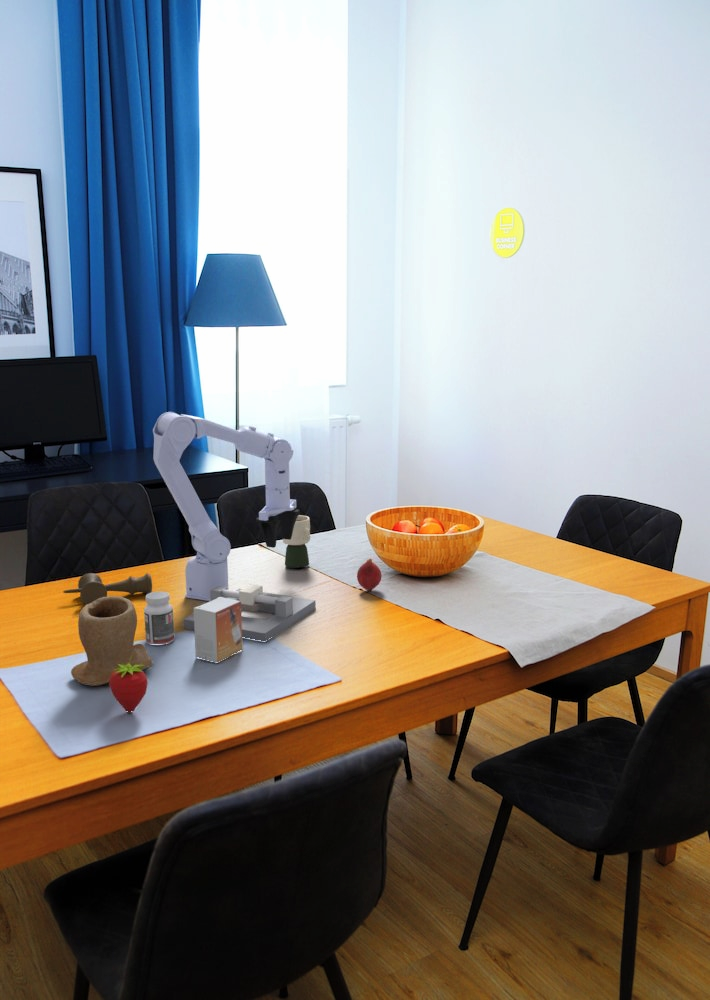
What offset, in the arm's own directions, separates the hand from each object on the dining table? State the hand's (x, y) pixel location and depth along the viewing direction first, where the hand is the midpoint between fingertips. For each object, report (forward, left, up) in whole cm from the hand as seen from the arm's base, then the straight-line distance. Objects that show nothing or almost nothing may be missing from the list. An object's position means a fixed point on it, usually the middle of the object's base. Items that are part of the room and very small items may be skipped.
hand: (279, 542), depth 215 cm
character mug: (-3, +14, -11) cm, 18 cm away
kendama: (-31, -25, -11) cm, 42 cm away
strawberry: (+11, -70, -11) cm, 72 cm away
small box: (+11, -43, -11) cm, 46 cm away
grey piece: (+6, -23, -10) cm, 26 cm away
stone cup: (-1, -59, -11) cm, 60 cm away
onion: (+22, +4, -11) cm, 25 cm away
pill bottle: (-4, -42, -11) cm, 44 cm away
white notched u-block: (+6, -23, -8) cm, 25 cm away
